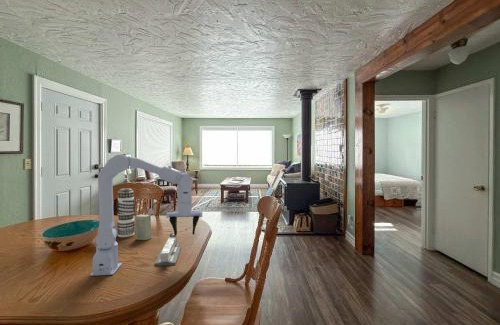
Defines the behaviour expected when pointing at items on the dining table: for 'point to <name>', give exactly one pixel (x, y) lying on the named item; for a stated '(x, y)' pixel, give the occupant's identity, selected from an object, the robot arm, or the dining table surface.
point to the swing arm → (168, 249)
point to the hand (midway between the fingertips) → (184, 234)
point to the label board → (172, 259)
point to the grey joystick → (174, 236)
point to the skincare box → (143, 227)
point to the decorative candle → (125, 213)
